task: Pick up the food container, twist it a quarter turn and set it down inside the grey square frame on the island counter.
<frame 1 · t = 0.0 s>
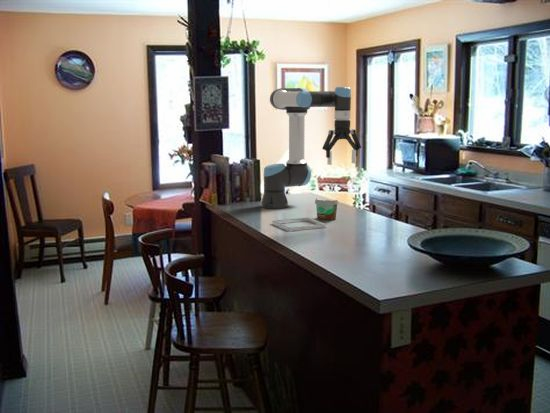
hand: (341, 163, 292), 28 cm above the counter, fingers open, 13 cm apart
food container: (324, 220, 299), on the counter
grey square frame: (298, 225, 285), on the counter
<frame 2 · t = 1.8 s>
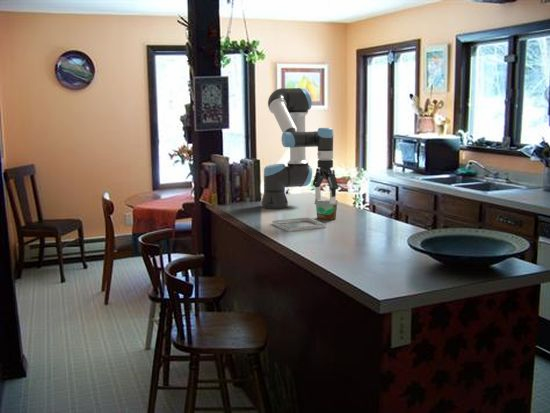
hand: (325, 202, 297), 9 cm above the counter, fingers open, 14 cm apart
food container: (324, 220, 299), on the counter, touching gripper
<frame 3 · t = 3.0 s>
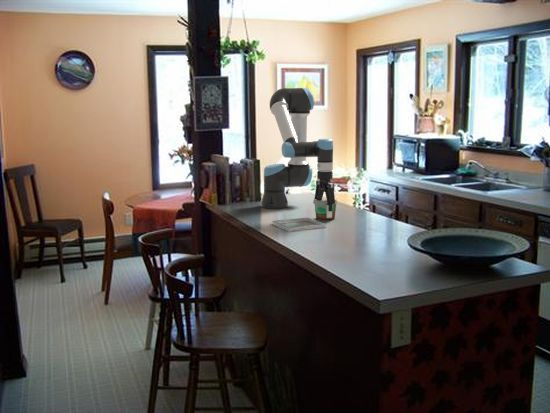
hand: (324, 215, 299), 2 cm above the counter, fingers closed on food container, 9 cm apart
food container: (324, 220, 299), on the counter, touching gripper
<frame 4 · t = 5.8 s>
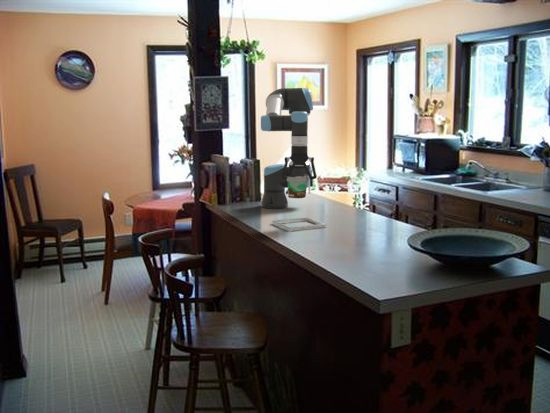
hand: (299, 193, 283), 15 cm above the counter, fingers closed on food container, 9 cm apart
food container: (299, 197, 283), point 13 cm above the counter, touching gripper
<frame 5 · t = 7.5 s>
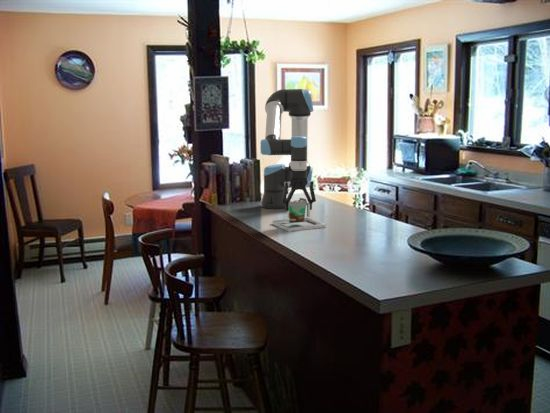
hand: (298, 217, 284), 4 cm above the counter, fingers closed on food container, 9 cm apart
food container: (299, 221, 285), point 2 cm above the counter, touching gripper
when the fingers open (2 cm above the counter, at t = 8.7 s): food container stays where it is, resting in grey square frame.
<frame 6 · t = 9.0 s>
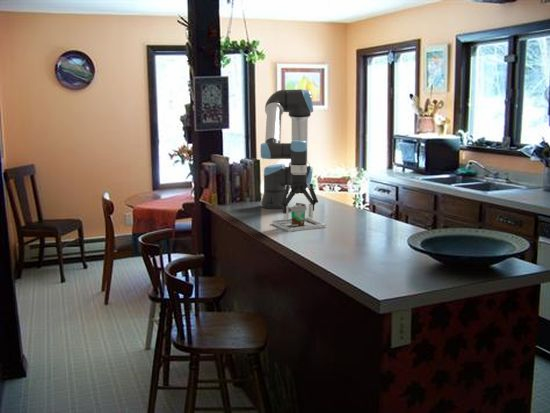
hand: (298, 219, 285), 3 cm above the counter, fingers open, 12 cm apart
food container: (300, 226, 285), resting in grey square frame
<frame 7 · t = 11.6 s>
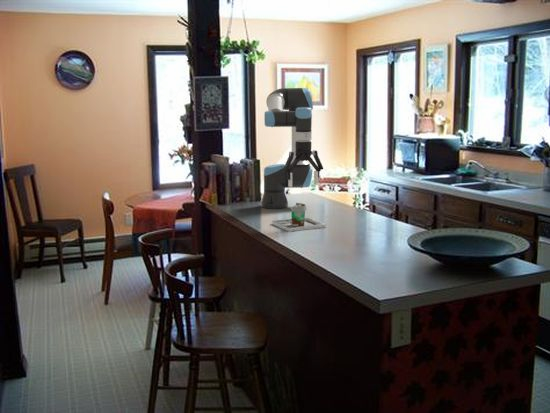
hand: (303, 185, 287), 18 cm above the counter, fingers open, 13 cm apart
nothing on the counter moved.
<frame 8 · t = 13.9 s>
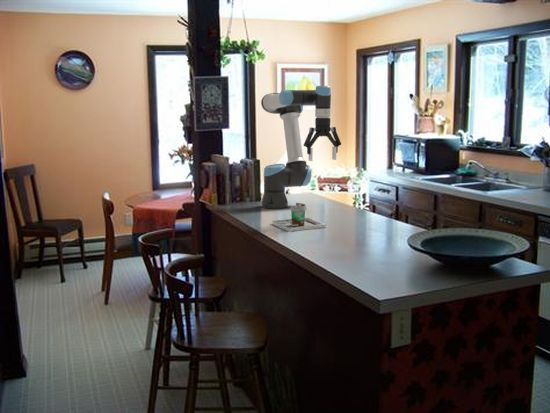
hand: (322, 160, 302), 29 cm above the counter, fingers open, 13 cm apart
nothing on the counter moved.
at the end: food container inside the target area on the grey square frame (0.7 cm from its centre), point 0.0 cm above the grey square frame's base; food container tilted 0°; the gripper is holding nothing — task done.
